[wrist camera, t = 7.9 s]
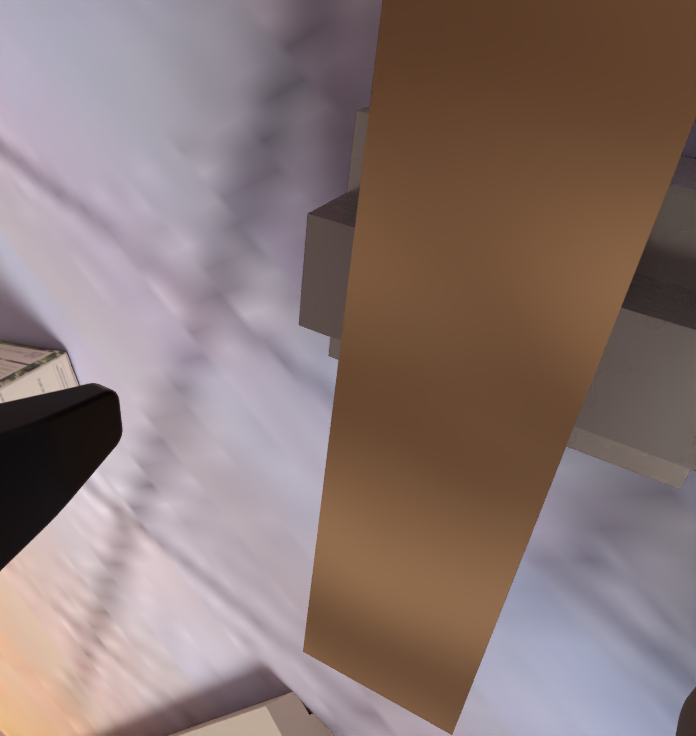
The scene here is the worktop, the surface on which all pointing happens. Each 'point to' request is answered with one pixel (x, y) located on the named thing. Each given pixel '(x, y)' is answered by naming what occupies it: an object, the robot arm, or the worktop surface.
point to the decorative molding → (264, 721)
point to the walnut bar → (481, 310)
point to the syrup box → (32, 371)
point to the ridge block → (622, 352)
